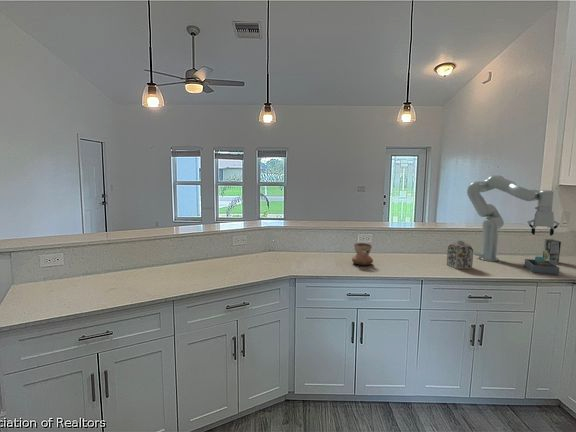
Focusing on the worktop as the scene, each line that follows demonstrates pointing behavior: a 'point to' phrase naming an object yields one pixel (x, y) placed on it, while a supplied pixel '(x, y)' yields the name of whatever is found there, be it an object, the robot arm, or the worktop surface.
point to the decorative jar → (460, 255)
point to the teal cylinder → (539, 259)
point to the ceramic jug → (362, 254)
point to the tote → (541, 267)
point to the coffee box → (551, 250)
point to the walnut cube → (542, 264)
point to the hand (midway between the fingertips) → (542, 234)
